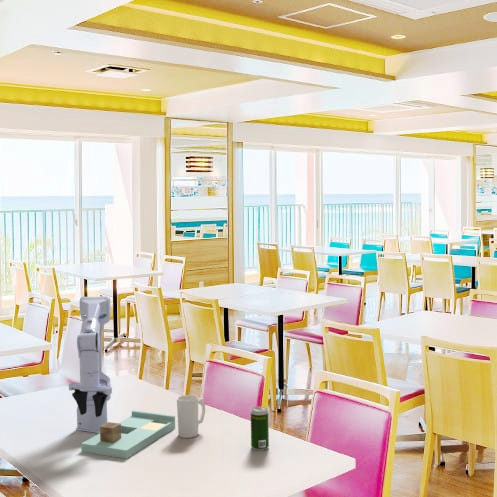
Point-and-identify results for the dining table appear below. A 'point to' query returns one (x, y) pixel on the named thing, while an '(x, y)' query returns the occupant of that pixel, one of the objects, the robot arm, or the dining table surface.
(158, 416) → the board
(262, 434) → the beer can
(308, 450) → the dining table surface
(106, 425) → the walnut block
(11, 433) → the dining table surface
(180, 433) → the mug
